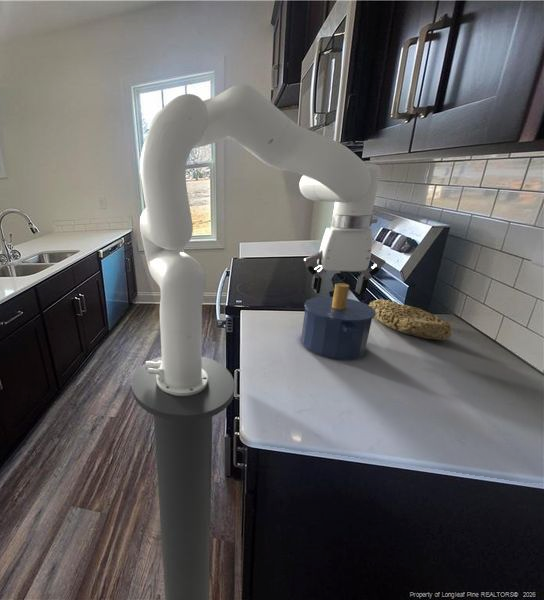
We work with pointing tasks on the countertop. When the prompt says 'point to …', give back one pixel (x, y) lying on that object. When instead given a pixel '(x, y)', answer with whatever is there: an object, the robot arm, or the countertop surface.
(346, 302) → the lid
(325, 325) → the pot
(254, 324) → the countertop surface
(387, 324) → the sponge
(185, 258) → the robot arm
